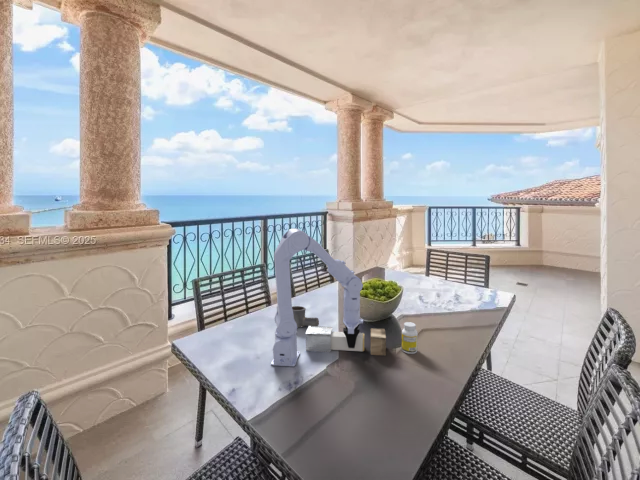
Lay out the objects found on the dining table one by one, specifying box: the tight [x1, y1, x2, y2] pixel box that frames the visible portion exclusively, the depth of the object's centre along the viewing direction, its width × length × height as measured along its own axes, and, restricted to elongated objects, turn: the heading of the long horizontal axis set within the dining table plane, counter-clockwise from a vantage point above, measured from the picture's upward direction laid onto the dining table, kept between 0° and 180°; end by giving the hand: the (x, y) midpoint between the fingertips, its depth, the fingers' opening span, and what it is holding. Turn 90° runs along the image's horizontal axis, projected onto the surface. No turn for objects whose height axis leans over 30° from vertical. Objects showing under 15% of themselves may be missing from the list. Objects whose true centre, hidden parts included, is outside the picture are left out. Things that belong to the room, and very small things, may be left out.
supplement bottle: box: [401, 321, 419, 355], centre depth 113 cm, size 5×5×10 cm
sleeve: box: [305, 325, 333, 353], centre depth 117 cm, size 7×9×6 cm
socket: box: [370, 327, 387, 357], centre depth 114 cm, size 7×5×6 cm
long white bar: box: [331, 331, 365, 352], centre depth 116 cm, size 4×17×5 cm, turn 82°
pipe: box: [292, 305, 320, 328], centre depth 135 cm, size 6×13×8 cm, turn 78°
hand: (351, 344), depth 115 cm, fingers closed on long white bar, 4 cm apart
